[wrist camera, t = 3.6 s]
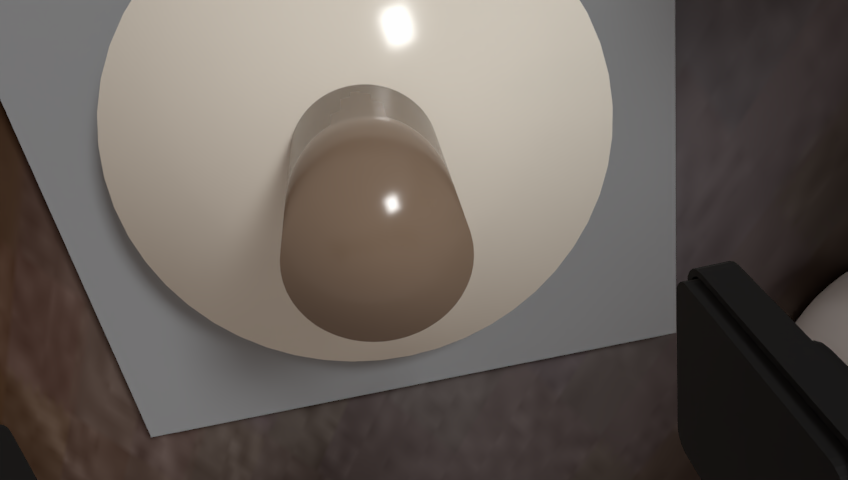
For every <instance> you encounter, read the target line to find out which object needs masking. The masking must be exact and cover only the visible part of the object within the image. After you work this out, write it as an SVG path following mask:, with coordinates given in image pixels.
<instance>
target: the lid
mask: <svg viewBox="0 0 848 480" xmlns="http://www.w3.org/2000/svg"><path fill="white" fill-rule="evenodd" d="M612 121H613V104H612V96H611V88H610V80H609V73H608V69H607V66H606V62H605V58H604V55H603V51H602V47H601V43H600V41H599V39H598V36H597V34H596V32H595V29H594V27H593V25H592V22H591V20H590V18H589V15H588V13H587V11H586V10H585V8H584V6H583V5H582V3H581V1H580V0H131V2H130V3H129V5H128V7H127V8H126V10H125V11H124V13H123V15H122V18H121V20H120V22H119V25H118V27H117V29H116V32H115V34H114V36H113V38H112V41H111V43H110V45H109V49H108V53H107V57H106V60H105V64H104V68H103V72H102V76H101V80H100V89H99V98H98V108H97V127H98V147H99V153H100V158H101V163H102V169H103V174H104V179H105V182H106V185H107V188H108V191H109V194H110V197H111V200H112V203H113V206H114V208H115V210H116V212H117V214H118V217H119V219H120V221H121V223H122V225H123V227H124V229H125V231H126V233H127V235H128V237H129V238H130V240H131V241H132V243H133V244H134V245H135V247H136V248H137V250H138V251H139V253H140V254H141V256H142V257H143V259H144V260H145V262H146V263H147V264H148V265H149V266H150V268H151V269H152V270H153V271H154V272H155V273H156V274H157V276H158V277H159V278H160V279H161V280H162V281H163V282H164V284H165V285H166V286H167V287H169V288H170V289H171V290H172V291H173V292H174V293H175V294H176V295H178V296H179V297H180V298H181V299H182V300H183V301H184V302H185V303H186V304H188V305H189V306H190V307H192V308H193V309H195V310H196V311H197V312H199V313H200V314H202V315H203V316H205V317H206V318H207V319H209V320H210V321H212V322H213V323H215V324H217V325H219V326H221V327H223V328H224V329H226V330H228V331H230V332H232V333H234V334H236V335H237V336H239V337H242V338H244V339H247V340H249V341H252V342H254V343H257V344H259V345H262V346H264V347H267V348H271V349H274V350H278V351H281V352H285V353H289V354H292V355H297V356H303V357H309V358H315V359H321V360H333V361H351V362H355V361H375V360H386V359H392V358H399V357H405V356H411V355H415V354H418V353H422V352H426V351H430V350H434V349H437V348H440V347H443V346H445V345H448V344H451V343H453V342H456V341H458V340H461V339H464V338H466V337H468V336H470V335H472V334H474V333H476V332H478V331H479V330H481V329H483V328H485V327H487V326H489V325H491V324H492V323H494V322H495V321H497V320H499V319H500V318H502V317H503V316H505V315H506V314H508V313H509V312H511V311H512V310H514V309H515V308H516V307H517V306H519V305H520V304H521V303H522V302H523V301H525V300H526V299H527V298H528V297H529V296H531V295H532V294H533V293H534V292H536V291H537V290H538V288H539V287H540V286H541V285H542V284H543V283H544V282H545V281H546V280H547V279H548V278H549V277H550V276H551V275H552V274H553V273H554V272H555V271H556V270H557V268H558V267H559V266H560V264H561V263H562V262H563V260H564V259H565V258H566V256H567V255H568V254H569V252H570V251H571V250H572V248H573V247H574V245H575V244H576V242H577V240H578V239H579V237H580V235H581V233H582V232H583V230H584V228H585V227H586V225H587V223H588V221H589V219H590V216H591V214H592V212H593V209H594V207H595V205H596V202H597V200H598V198H599V195H600V192H601V189H602V185H603V182H604V178H605V175H606V171H607V168H608V162H609V155H610V149H611V142H612Z"/></svg>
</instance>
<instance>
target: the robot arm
mask: <svg viewBox="0 0 848 480" xmlns="http://www.w3.org/2000/svg"><path fill="white" fill-rule="evenodd" d="M677 383H678V432H679V437H680V440H681V444H682V446H683V449H684V451H685V453H686V455H687V456H688V458H689V460H690V461H691V463H692V465H693V466H694V468H695V470H696V471H697V473H698V475H699V476H700V478H701V480H848V366H847V365H846V364H845V363H844V362H843V361H842V360H841V359H840V358H839V357H838V356H837V355H836V354H835V353H834V352H833V351H832V350H831V349H830V348H829V347H827V346H826V345H825V344H823V343H822V342H818V341H815V340H813V341H812V340H811V339H810V338H809V337H808V336H807V335H806V334H805V333H804V332H803V331H802V330H801V329H800V328H799V327H798V325H797V324H796V323H795V322H794V321H793V320H792V319H791V318H790V317H789V316H788V315H787V314H786V313H785V312H784V311H783V310H782V309H781V308H780V307H779V306H778V305H777V304H776V303H775V302H774V301H773V300H772V299H771V298H770V297H769V296H768V295H767V294H766V293H765V292H764V291H763V290H762V289H761V288H760V287H759V286H758V285H757V284H756V283H755V282H754V281H753V280H752V279H751V278H750V277H749V275H748V274H747V273H746V272H745V271H744V270H743V269H742V268H741V267H740V266H739V265H737V264H736V263H735V262H732V261H728V262H724V263H719V264H714V265H709V266H705V267H700V268H695V269H692V270H691V271H690V272H689V275H688V281H684V282H680V283H679V284H678V286H677ZM0 480H37V479H36V477H35V475H34V473H33V471H32V470H31V468H30V466H29V464H28V462H27V460H26V459H25V457H24V455H23V453H22V451H21V450H20V448H19V446H18V444H17V442H16V440H15V439H14V437H13V435H12V433H11V432H10V430H9V429H8V428H7V427H6V426H4V425H0Z"/></svg>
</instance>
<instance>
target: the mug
mask: <svg viewBox="0 0 848 480" xmlns="http://www.w3.org/2000/svg"><path fill="white" fill-rule="evenodd" d="M795 323H796V324H797V325H798V327H799V328H800V329H801V330H802V331H803V332H804V333H805V334H806V335H807V336H808V337H809V338H810V339H811V340H812V341H813V340H815V341H818V342H822V343H823V344H825V345H826V346H827V347H829V348H830V349H831V350H832V351H833V352H834V353H835V354H836V355H837V356H838V357H839V358H840V359H841V360H842V361H843V362H844V363H845V364H846V365H847V366H848V272H846V273H844V274H843V275H842V276H840V277H839V278H838V279H836V280H835V281H834V282H832V283H831V284H830V285H829V286H828V287H827V288H825V289H824V290H823V291H822V292H821V293H820V294H819V295H818V296H817V297H816V298H815V299H814V300H813V301H812V302H811V303H810V304H809V306H808V307H807V308H806V309H805V310H804V311H803V313H802V314H801V316H800V317H799V318H798V320H797V321H796V322H795Z"/></svg>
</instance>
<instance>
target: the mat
mask: <svg viewBox="0 0 848 480" xmlns="http://www.w3.org/2000/svg"><path fill="white" fill-rule="evenodd" d="M580 1H581V3H582V5H583V6H584V8H585V10H586V11H587V13H588V15H589V18H590V20H591V22H592V25H593V27H594V29H595V32H596V34H597V36H598V39H599V41H600V43H601V47H602V51H603V55H604V58H605V62H606V66H607V69H608V73H609V80H610V88H611V96H612V104H613V121H612V142H611V149H610V155H609V162H608V168H607V171H606V175H605V178H604V182H603V185H602V189H601V192H600V195H599V198H598V200H597V202H596V205H595V207H594V209H593V212H592V214H591V216H590V219H589V221H588V223H587V225H586V227H585V228H584V230H583V232H582V233H581V235H580V237H579V239H578V240H577V242H576V244H575V245H574V247H573V248H572V250H571V251H570V252H569V254H568V255H567V256H566V258H565V259H564V260H563V262H562V263H561V264H560V266H559V267H558V268H557V270H556V271H555V272H554V273H553V274H552V275H551V276H550V277H549V278H548V279H547V280H546V281H545V282H544V283H543V284H542V285H541V286H540V287H539V288H538V290H537V291H536V292H534V293H533V294H532V295H531V296H529V297H528V298H527V299H526V300H525V301H523V302H522V303H521V304H520V305H519V306H517V307H516V308H515V309H514V310H512V311H511V312H509V313H508V314H506V315H505V316H503V317H502V318H500V319H499V320H497V321H495V322H494V323H492V324H491V325H489V326H487V327H485V328H483V329H481V330H479V331H478V332H476V333H474V334H472V335H470V336H468V337H466V338H464V339H461V340H458V341H456V342H453V343H451V344H448V345H445V346H443V347H440V348H437V349H434V350H430V351H426V352H422V353H418V354H415V355H411V356H405V357H399V358H392V359H386V360H375V361H355V362H351V361H333V360H321V359H315V358H309V357H303V356H297V355H292V354H289V353H285V352H281V351H278V350H274V349H271V348H267V347H264V346H262V345H259V344H257V343H254V342H252V341H249V340H247V339H244V338H242V337H239V336H237V335H236V334H234V333H232V332H230V331H228V330H226V329H224V328H223V327H221V326H219V325H217V324H215V323H213V322H212V321H210V320H209V319H207V318H206V317H205V316H203V315H202V314H200V313H199V312H197V311H196V310H195V309H193V308H192V307H190V306H189V305H188V304H186V303H185V302H184V301H183V300H182V299H181V298H180V297H179V296H178V295H176V294H175V293H174V292H173V291H172V290H171V289H170V288H169V287H167V286H166V285H165V284H164V282H163V281H162V280H161V279H160V278H159V277H158V276H157V274H156V273H155V272H154V271H153V270H152V269H151V268H150V266H149V265H148V264H147V263H146V262H145V260H144V259H143V257H142V256H141V254H140V253H139V251H138V250H137V248H136V247H135V245H134V244H133V243H132V241H131V240H130V238H129V237H128V235H127V233H126V231H125V229H124V227H123V225H122V223H121V221H120V219H119V217H118V214H117V212H116V210H115V208H114V206H113V203H112V200H111V197H110V194H109V191H108V188H107V185H106V182H105V179H104V174H103V169H102V163H101V158H100V153H99V147H98V127H97V108H98V98H99V89H100V80H101V76H102V72H103V68H104V64H105V60H106V57H107V53H108V49H109V45H110V43H111V41H112V38H113V36H114V34H115V32H116V29H117V27H118V25H119V22H120V20H121V18H122V15H123V13H124V11H125V10H126V8H127V7H128V5H129V3H130V2H131V0H0V100H1V102H2V104H3V107H4V109H5V111H6V113H7V116H8V118H9V120H10V122H11V125H12V127H13V129H14V131H15V134H16V136H17V138H18V140H19V142H20V145H21V147H22V149H23V151H24V154H25V156H26V158H27V160H28V163H29V165H30V167H31V169H32V172H33V174H34V176H35V178H36V181H37V183H38V185H39V187H40V189H41V192H42V194H43V196H44V198H45V201H46V203H47V205H48V207H49V210H50V212H51V214H52V216H53V219H54V221H55V223H56V225H57V228H58V230H59V232H60V234H61V236H62V239H63V241H64V243H65V245H66V248H67V250H68V252H69V254H70V257H71V259H72V261H73V263H74V266H75V268H76V270H77V272H78V275H79V277H80V279H81V281H82V283H83V286H84V288H85V290H86V292H87V295H88V297H89V299H90V301H91V304H92V306H93V308H94V310H95V313H96V315H97V317H98V319H99V322H100V324H101V326H102V328H103V330H104V333H105V335H106V337H107V339H108V342H109V344H110V346H111V348H112V351H113V353H114V355H115V357H116V360H117V362H118V364H119V366H120V369H121V371H122V373H123V375H124V377H125V380H126V382H127V384H128V386H129V389H130V391H131V393H132V395H133V398H134V400H135V402H136V404H137V407H138V409H139V411H140V413H141V416H142V418H143V420H144V422H145V425H146V427H147V429H148V431H149V433H150V436H151V437H156V436H161V435H166V434H171V433H176V432H181V431H186V430H191V429H196V428H201V427H206V426H211V425H216V424H221V423H226V422H231V421H236V420H241V419H246V418H251V417H256V416H261V415H266V414H271V413H276V412H281V411H286V410H291V409H296V408H301V407H306V406H311V405H316V404H321V403H326V402H331V401H336V400H341V399H346V398H351V397H356V396H361V395H366V394H371V393H376V392H381V391H386V390H391V389H396V388H401V387H406V386H411V385H416V384H421V383H426V382H431V381H436V380H441V379H446V378H451V377H456V376H461V375H466V374H471V373H476V372H481V371H486V370H491V369H496V368H501V367H506V366H511V365H516V364H522V363H527V362H532V361H537V360H542V359H547V358H552V357H557V356H562V355H567V354H572V353H577V352H582V351H587V350H592V349H597V348H602V347H607V346H612V345H617V344H622V343H627V342H632V341H637V340H642V339H647V338H652V337H657V336H662V335H667V334H672V333H676V128H675V0H580Z"/></svg>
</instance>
